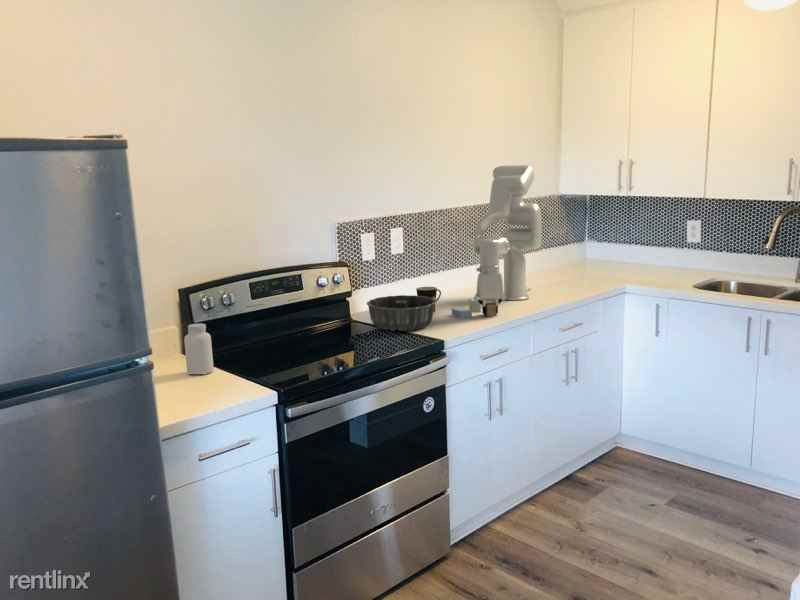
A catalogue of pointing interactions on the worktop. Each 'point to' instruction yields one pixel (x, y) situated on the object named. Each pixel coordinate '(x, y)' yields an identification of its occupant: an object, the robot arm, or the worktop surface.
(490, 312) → the walnut block
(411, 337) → the worktop surface
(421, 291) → the coffee mug
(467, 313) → the slate block
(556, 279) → the worktop surface
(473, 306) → the sage block
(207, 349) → the pill bottle
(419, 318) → the bundt pan
